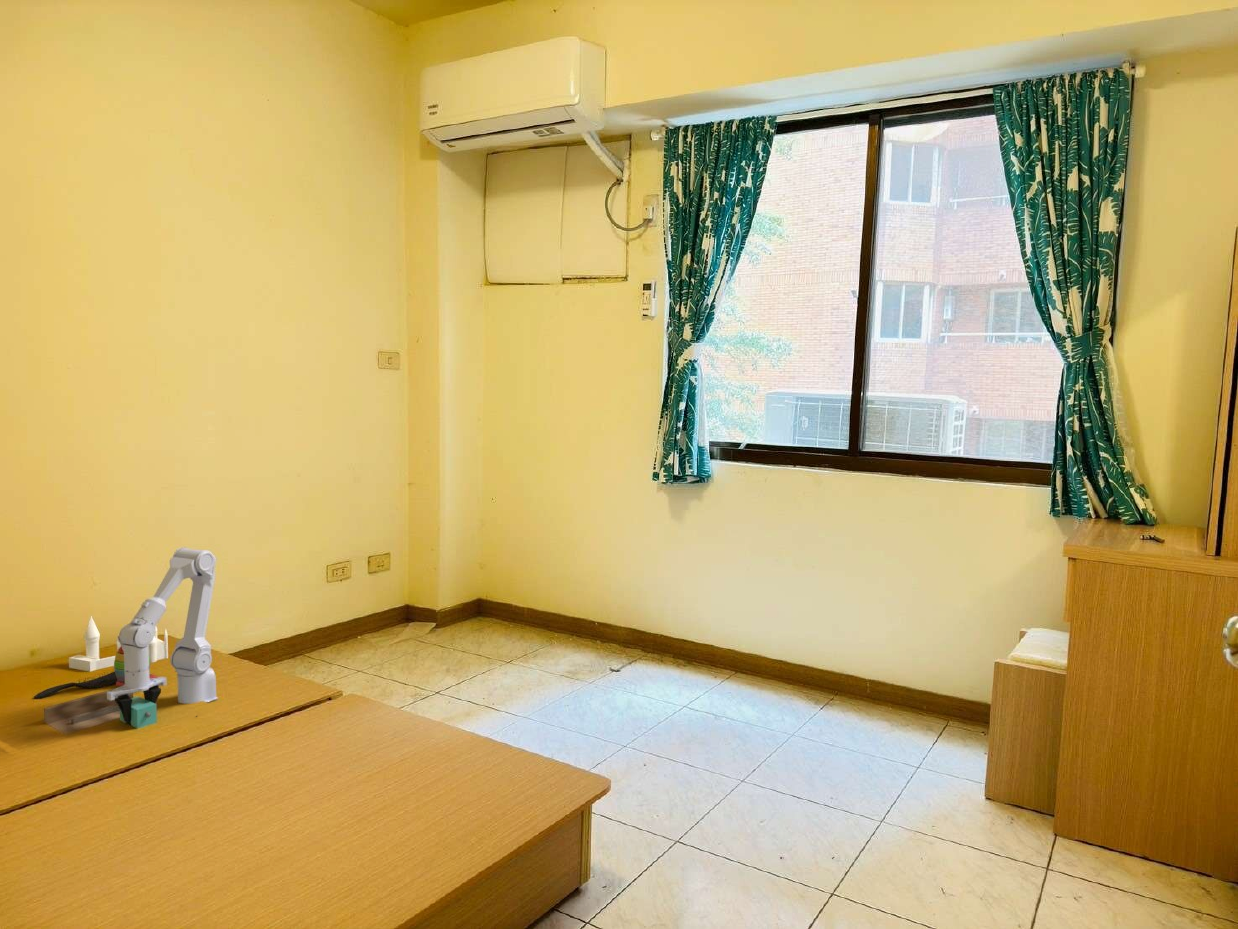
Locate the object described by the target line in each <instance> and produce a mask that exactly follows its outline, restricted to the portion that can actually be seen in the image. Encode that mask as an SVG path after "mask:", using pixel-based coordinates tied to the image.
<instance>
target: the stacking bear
mask: <svg viewBox="0 0 1238 929" xmlns="http://www.w3.org/2000/svg"><path fill="white" fill-rule="evenodd" d="M114 656H115V661H114V666H113V670H114V671H115V674H116V677H117V682H116V684H115V686H117V688H119V687H121V686H123V685H125V673H124V651H123V650H122V645H121V647H120V648H119V649H118V651H116V652H115V655H114ZM150 668H151V663H150V657H149V669H150ZM114 671H113V672H114ZM154 678H159V677H158V676H157V675H155V674H153V673H149V679H154Z"/></svg>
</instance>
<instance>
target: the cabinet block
mask: <svg viewBox="0 0 1238 929" xmlns="http://www.w3.org/2000/svg"><path fill="white" fill-rule="evenodd" d="M157 707H158V706H157V703H152V702H150V701H148V700H146V699H145V698H144V697H141V696H136V697H133V698H132V705H131V722H130V725H131V727H134V728H136V729H141V728H144V727H147V726H151V725H153V724H156V723H158V714H157V713H158V712H157ZM119 721H121V722H123V723H124V724H128V723H127V722H125V721H124V718H123V715H122V712H121V710H120V718H119Z"/></svg>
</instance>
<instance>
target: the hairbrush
mask: <svg viewBox="0 0 1238 929" xmlns="http://www.w3.org/2000/svg"><path fill="white" fill-rule="evenodd" d="M108 672H109V673H108ZM97 676H98V677H97ZM84 678H85V679H84ZM84 678H83V679H78V680H77V681H78V682H68V683H67V682H66V683H63V684H59V685H56V686H52V687H48V688H47V689H45V690H42V691H40V692H37V694H35V695H34V696H33V700H42V699H44V698H47V697H49V696H51V695H54V694H56V693H58V692H60V691H63V690H67V689H70V688H75V687H76V688H80V689H85V690H96V689H101V688H107V687H112V686H116V682H117V677H116V674H115V671H114V668H113V669H111V670H108V671H106V672H105V671H103V673H101V675H100V673H99V674H97V675H96V674H95V675H94V677H91V676H88V677H87V678H86V677H84ZM82 680H83V681H82Z"/></svg>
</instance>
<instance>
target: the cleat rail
mask: <svg viewBox="0 0 1238 929" xmlns="http://www.w3.org/2000/svg"><path fill="white" fill-rule="evenodd" d="M117 711H120V708H119V706H118V705H117V706H113V707H110V708H106V709H103V710H100V711H96V712H93V713H89V714H86V715H82V716H79V717H76V718H72V719H71V723H72V724H76V723H80V722H83V721H86V720H90V719H93V718H96V717H100V716H103V715H106V714H110V713H113V712H117Z"/></svg>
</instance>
